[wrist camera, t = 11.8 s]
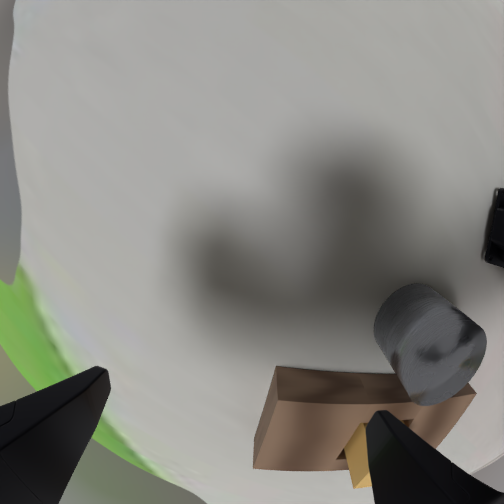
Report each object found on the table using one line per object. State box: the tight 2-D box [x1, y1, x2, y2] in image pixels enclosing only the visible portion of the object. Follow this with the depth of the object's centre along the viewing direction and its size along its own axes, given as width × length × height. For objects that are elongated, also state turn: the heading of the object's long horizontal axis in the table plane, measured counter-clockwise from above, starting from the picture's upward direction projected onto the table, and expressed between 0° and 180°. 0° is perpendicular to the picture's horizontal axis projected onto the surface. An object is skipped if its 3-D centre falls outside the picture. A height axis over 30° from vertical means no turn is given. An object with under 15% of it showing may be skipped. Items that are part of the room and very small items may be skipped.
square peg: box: [344, 420, 405, 489], centre depth 19 cm, size 4×4×8 cm
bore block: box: [253, 366, 477, 471], centre depth 21 cm, size 20×10×4 cm, turn 80°
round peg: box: [374, 283, 487, 406], centre depth 16 cm, size 6×6×7 cm
